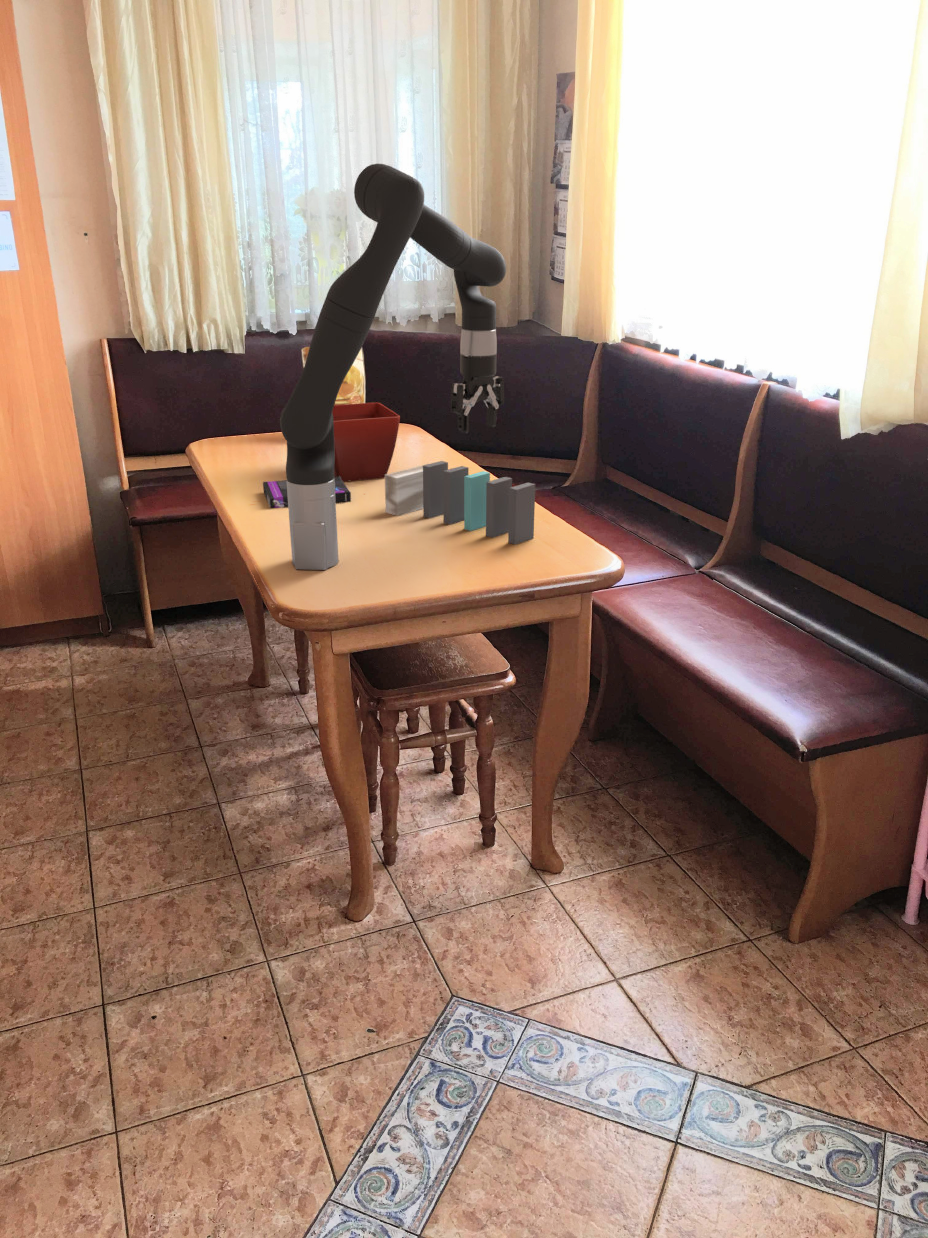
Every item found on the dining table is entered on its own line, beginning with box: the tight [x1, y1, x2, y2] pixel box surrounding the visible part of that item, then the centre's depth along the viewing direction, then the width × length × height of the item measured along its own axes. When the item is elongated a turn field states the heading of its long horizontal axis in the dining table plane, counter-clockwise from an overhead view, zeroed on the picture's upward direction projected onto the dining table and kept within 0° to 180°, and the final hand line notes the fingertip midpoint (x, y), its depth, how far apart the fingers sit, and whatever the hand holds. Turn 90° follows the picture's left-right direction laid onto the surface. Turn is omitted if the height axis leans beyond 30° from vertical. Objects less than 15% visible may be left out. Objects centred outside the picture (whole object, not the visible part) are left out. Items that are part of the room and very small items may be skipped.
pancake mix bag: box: [300, 345, 366, 405], centre depth 285 cm, size 7×19×28 cm, turn 111°
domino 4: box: [485, 476, 513, 539], centre depth 209 cm, size 2×6×12 cm, turn 136°
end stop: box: [384, 463, 428, 517], centre depth 227 cm, size 4×14×9 cm, turn 136°
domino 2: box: [443, 465, 469, 525], centre depth 217 cm, size 2×6×12 cm, turn 136°
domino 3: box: [463, 470, 491, 532], centre depth 213 cm, size 2×6×12 cm, turn 136°
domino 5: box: [507, 482, 536, 546], centre depth 205 cm, size 2×6×12 cm, turn 136°
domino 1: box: [422, 460, 449, 519], centre depth 221 cm, size 2×6×12 cm, turn 136°
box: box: [262, 477, 352, 509], centre depth 236 cm, size 14×4×20 cm
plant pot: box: [332, 402, 401, 483], centre depth 252 cm, size 19×19×17 cm
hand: (477, 429), depth 207 cm, fingers open, 8 cm apart
